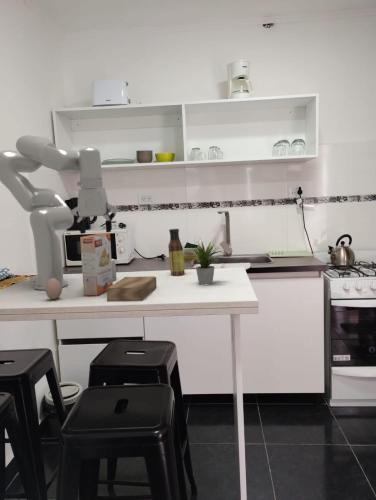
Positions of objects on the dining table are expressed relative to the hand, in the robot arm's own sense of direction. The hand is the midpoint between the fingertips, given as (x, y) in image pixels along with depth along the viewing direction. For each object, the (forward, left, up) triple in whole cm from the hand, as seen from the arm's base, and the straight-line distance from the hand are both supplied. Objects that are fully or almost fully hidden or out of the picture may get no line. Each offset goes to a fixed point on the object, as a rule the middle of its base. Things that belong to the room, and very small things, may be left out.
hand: (95, 232), depth 148 cm
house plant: (+38, +11, -22) cm, 45 cm away
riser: (+14, -4, -22) cm, 26 cm away
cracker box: (0, 0, -22) cm, 22 cm away
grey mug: (-6, +22, -22) cm, 32 cm away
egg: (-12, -11, -22) cm, 27 cm away
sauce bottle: (+23, +32, -22) cm, 45 cm away
